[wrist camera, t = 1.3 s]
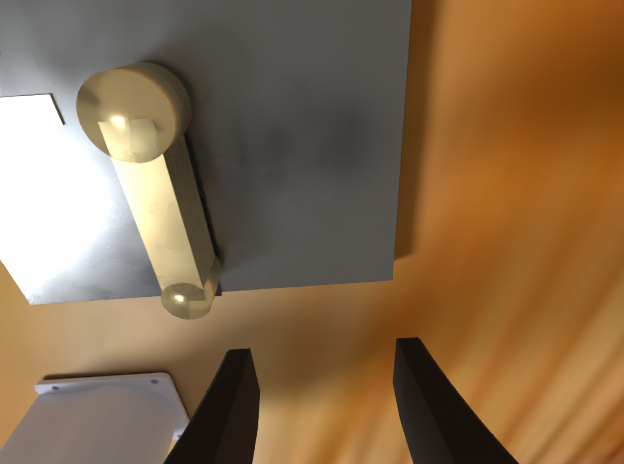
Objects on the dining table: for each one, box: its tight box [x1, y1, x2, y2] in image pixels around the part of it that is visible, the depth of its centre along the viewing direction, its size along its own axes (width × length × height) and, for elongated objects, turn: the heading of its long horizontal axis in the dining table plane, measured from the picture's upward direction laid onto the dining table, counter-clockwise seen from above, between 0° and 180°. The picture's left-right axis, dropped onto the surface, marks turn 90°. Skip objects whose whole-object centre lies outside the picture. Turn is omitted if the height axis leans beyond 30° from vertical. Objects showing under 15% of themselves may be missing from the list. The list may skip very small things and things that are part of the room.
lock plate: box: [0, 0, 412, 305], centre depth 15 cm, size 20×20×2 cm
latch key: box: [76, 62, 222, 319], centre depth 15 cm, size 11×3×2 cm, turn 4°
